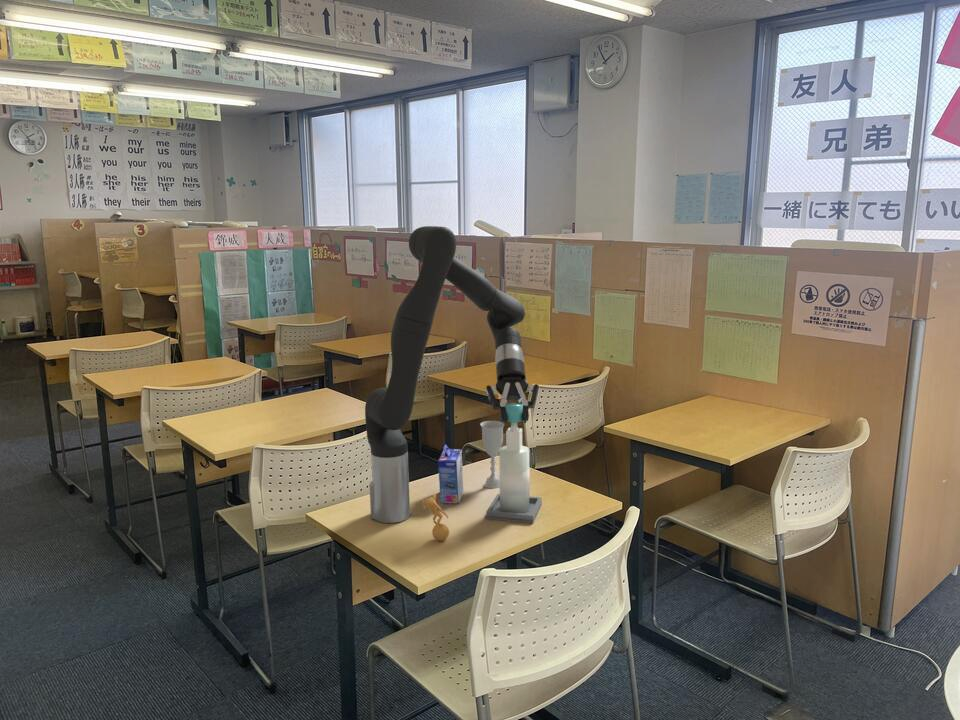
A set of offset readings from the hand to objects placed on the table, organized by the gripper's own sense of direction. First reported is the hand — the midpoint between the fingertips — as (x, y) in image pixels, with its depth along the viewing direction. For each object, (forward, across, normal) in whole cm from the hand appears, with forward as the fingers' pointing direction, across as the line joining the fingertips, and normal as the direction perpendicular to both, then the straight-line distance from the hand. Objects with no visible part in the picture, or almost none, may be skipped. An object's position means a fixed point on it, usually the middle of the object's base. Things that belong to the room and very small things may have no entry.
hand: (515, 421), depth 174 cm
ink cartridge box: (+8, -16, +27) cm, 33 cm away
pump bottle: (+16, 0, +19) cm, 25 cm away
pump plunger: (+3, 0, +5) cm, 6 cm away
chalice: (+3, -4, +33) cm, 33 cm away
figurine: (+27, -20, +8) cm, 35 cm away
